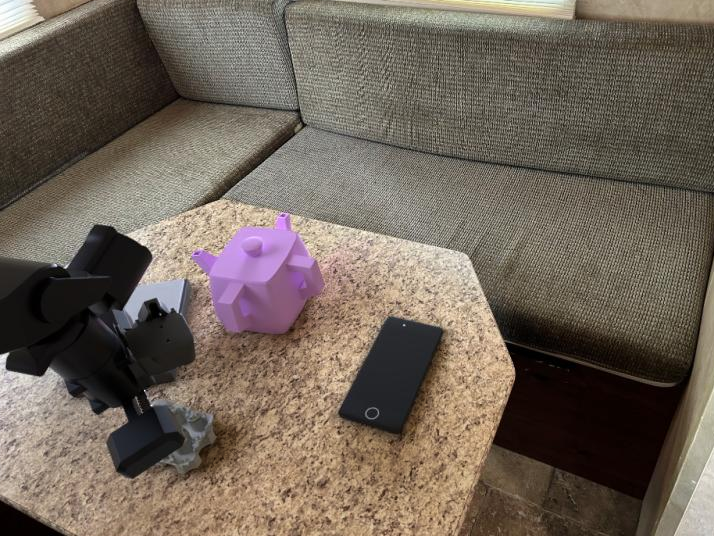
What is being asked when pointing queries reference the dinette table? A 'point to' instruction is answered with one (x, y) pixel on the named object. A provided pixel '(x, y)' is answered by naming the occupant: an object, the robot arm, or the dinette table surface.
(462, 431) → the dinette table surface
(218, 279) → the teakettle
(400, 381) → the cell phone
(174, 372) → the scale
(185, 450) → the egg carton
